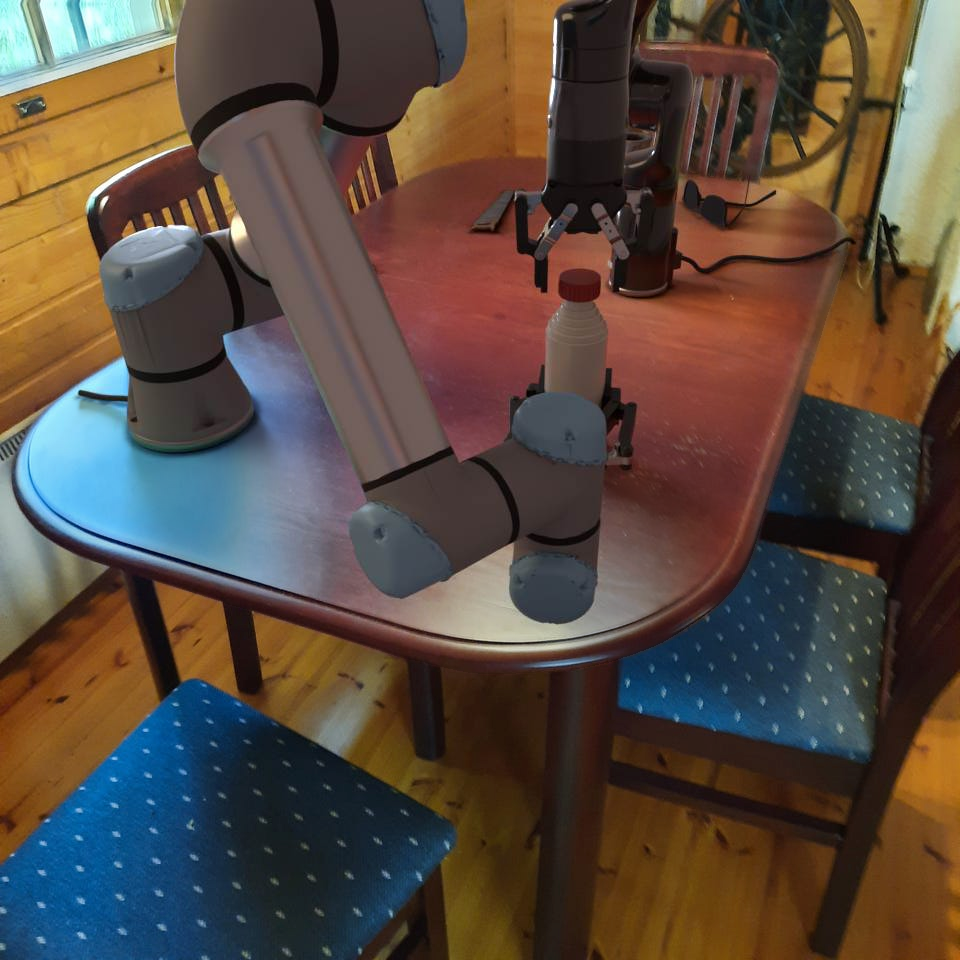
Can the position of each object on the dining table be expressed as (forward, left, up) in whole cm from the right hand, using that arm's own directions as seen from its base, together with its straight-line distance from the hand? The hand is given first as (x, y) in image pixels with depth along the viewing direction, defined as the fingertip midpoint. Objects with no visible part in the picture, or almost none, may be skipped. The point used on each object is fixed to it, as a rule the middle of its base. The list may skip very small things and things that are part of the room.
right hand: (579, 289), depth 91 cm
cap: (0, 0, +1) cm, 1 cm away
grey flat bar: (-29, -76, -20) cm, 84 cm away
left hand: (-3, -4, -13) cm, 14 cm away
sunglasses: (-68, -54, -20) cm, 89 cm away
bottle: (0, 0, -20) cm, 20 cm away
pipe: (-62, -83, -20) cm, 105 cm away
